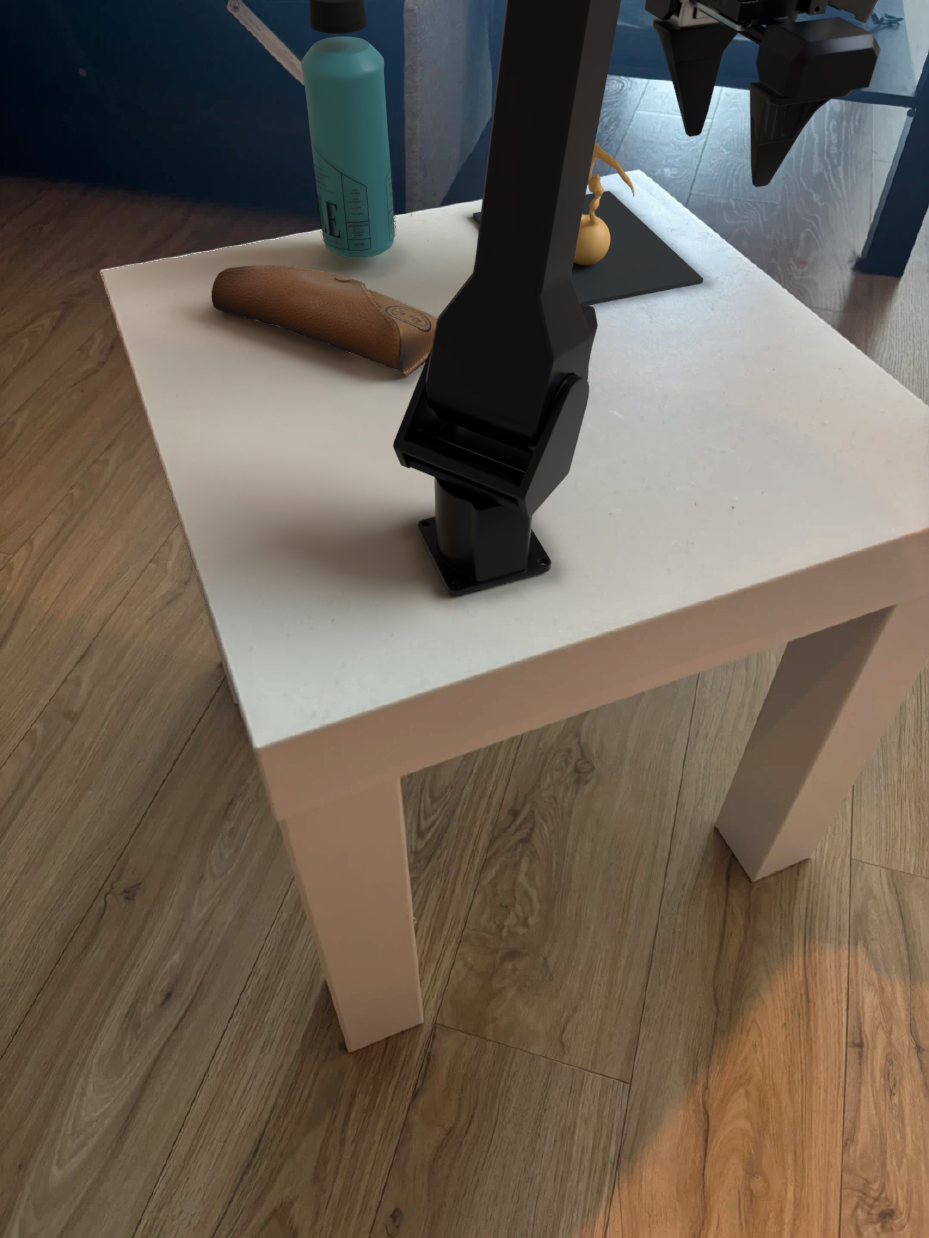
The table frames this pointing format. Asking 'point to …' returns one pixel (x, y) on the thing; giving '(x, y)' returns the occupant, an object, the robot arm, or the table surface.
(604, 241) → the figurine
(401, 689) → the table surface
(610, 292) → the mat
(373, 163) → the beverage bottle
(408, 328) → the sunglasses case
